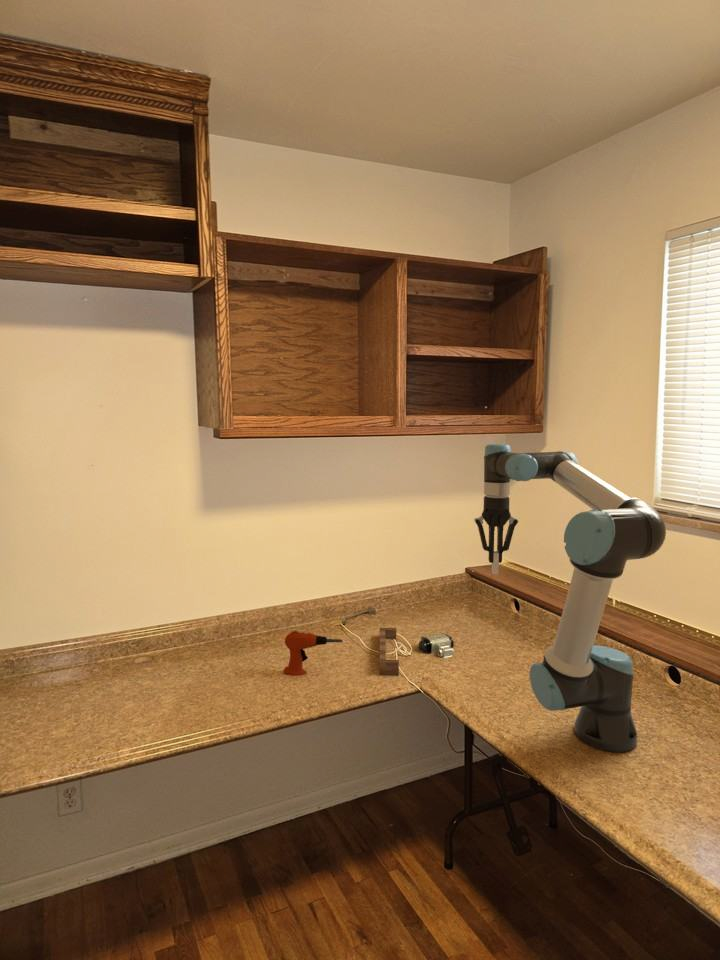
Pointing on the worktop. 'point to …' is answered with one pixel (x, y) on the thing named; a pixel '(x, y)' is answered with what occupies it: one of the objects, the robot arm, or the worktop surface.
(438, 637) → the pneumatic valve
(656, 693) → the worktop surface
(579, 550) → the robot arm
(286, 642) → the toy drill
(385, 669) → the stop
